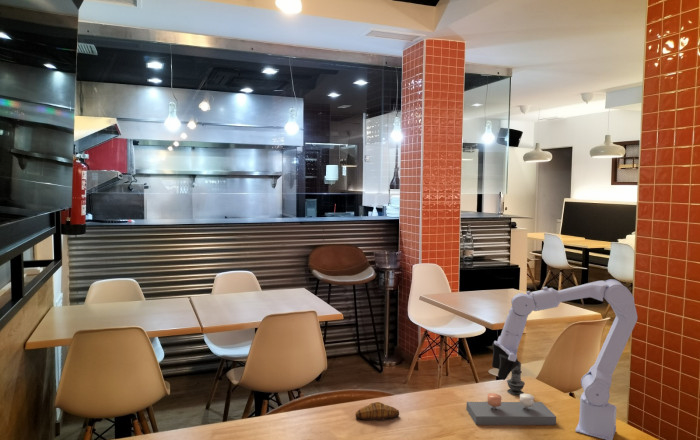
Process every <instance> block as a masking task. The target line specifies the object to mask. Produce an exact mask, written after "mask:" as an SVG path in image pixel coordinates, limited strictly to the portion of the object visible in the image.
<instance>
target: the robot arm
mask: <svg viewBox="0 0 700 440" xmlns="http://www.w3.org/2000/svg"><path fill="white" fill-rule="evenodd" d="M588 298H592V299H594V300H597V301H600V302H603V301H604V300H605V301H606V302H607V303H608V304H609V305H610V307H611V309H612V310H613V312H614V313H613V314H615V318H614V319H613V321H612V324H611V326H610V329H609V331H608V334H607V335H606V337H605V339H604V342H603V344H602V347H601V349H600V351H599V353H598V355H597V357H596V360H595V362H594V364H593V365H592V366H591V367H590V368H589V370H588V372H586V373H585V374H584V375H583V376H582V377H581V378H580V386H581V387H582V389H583V392H582V393H581V395H580V399H579V400H580V401H579V417H578V423H577V425H576V427H575V429H574V431H575V432H576V433H581V434H583V435H587V436H591V437H593V438H599V439H602V440H613V439H614V436H615V433H616V431H617V405H615V404H612V403H610V402H609V400H610V397H611V394H610V388H611V386H612V379H613V373H614V371H615V369H616V367H617V365H618V363H619V361H620V359H621V356H622V354H623V352H624V350H625V348H626V346H627V344H628V341H629V339H630V336H631V334H632V332H633V330H634V328H635V326H636V324H637V321H638V312H637V308H636V304H635V297H634V295H633V294H632V293H631V291H630V290H629V288H627V287H626V286H625V285H623V283H622V282H620V281H619V280H618V279H607V280H596V281H592V282H587V283H584V284H580V285H576V286H572V287H567V288H564V289H560V290H558V289H557V290H556V289H554V288H553V287H549V288H548V286H543V287H542V289H540V290H536V291H535V290H534V291H530V290H528V291H527V290H526V291H525V293H523V292H519V293H516V294H515V295H513V297H512V298H511V307H510V309H509V311H508V314H507V316H506V318H505V321H504V325H503V328H502V330H501V333H500V335H499V336H498V338H497V340H494V341H493V342H492V344H491V346H492V352H493V353H492V361H491V362H492V363H491V366H492V367H491V368H495V369H498V370H497V371H498V372H497V378H498V379H500V380H503V381H504V380H506V379H507V378H508V376H509V375H510V373H512V372H511V371H512V369H513V368H514V367H516V366H517V365H518V364H519V362H520V361H519V359H518V355H517V353H518V350H519V349H518V348H519V345H520V342H521V339H522V336H523V333H524V330H525V328H526V325H527V322H528V321H527V320H528V316H529V315H530V314H531V313H532V312H539V311H545V310H549V309H553V308H558V307H559V305H560V303H561V302H562V303H563V302H568V301H574V300H580V299H588ZM516 358H517V359H518V360H516ZM518 361H519V362H518Z"/></svg>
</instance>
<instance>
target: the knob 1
mask: <svg viewBox="0 0 700 440" xmlns="http://www.w3.org/2000/svg"><path fill="white" fill-rule="evenodd" d="M486 402H487V403H488V404H489V405H490V406H492V410H496V407H499V406H501V402H502V395H500V394H498V393H494V392H491V393H488V394H487V401H486Z"/></svg>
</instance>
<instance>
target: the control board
mask: <svg viewBox="0 0 700 440" xmlns="http://www.w3.org/2000/svg"><path fill="white" fill-rule="evenodd" d="M465 411H466V412H468V414H469V416H470V418H471V419H472V421H473V423H474V424H475V425H476V426H478V425H481V426H482V425H483V426H487V425H488V426H489V425H491V426H493V425H494V426H497V425H498V426H503V425H504V426H512V425H513V426H519V425H520V426H526V425H527V426H535V425H536V426H557V415H555V414H554V412H552V411H551V410H550V409H549V408H548V407H547V406H546V405H545V404H544V403H543V401H534V405H533V406H532V407H528V410H525V406H523V405H521V404H520V401H501V406H499V407H496V410H492V406H490V405H489V404H488V403H487V401H466V410H465Z"/></svg>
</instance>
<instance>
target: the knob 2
mask: <svg viewBox="0 0 700 440" xmlns="http://www.w3.org/2000/svg"><path fill="white" fill-rule="evenodd" d="M534 399H535V397H534V395H532V394H531V393H524V394H520V396H519V402H520V404H521V405H523V406H525V410H528V407H532V406H533V405H534V402H535V400H534Z"/></svg>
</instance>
